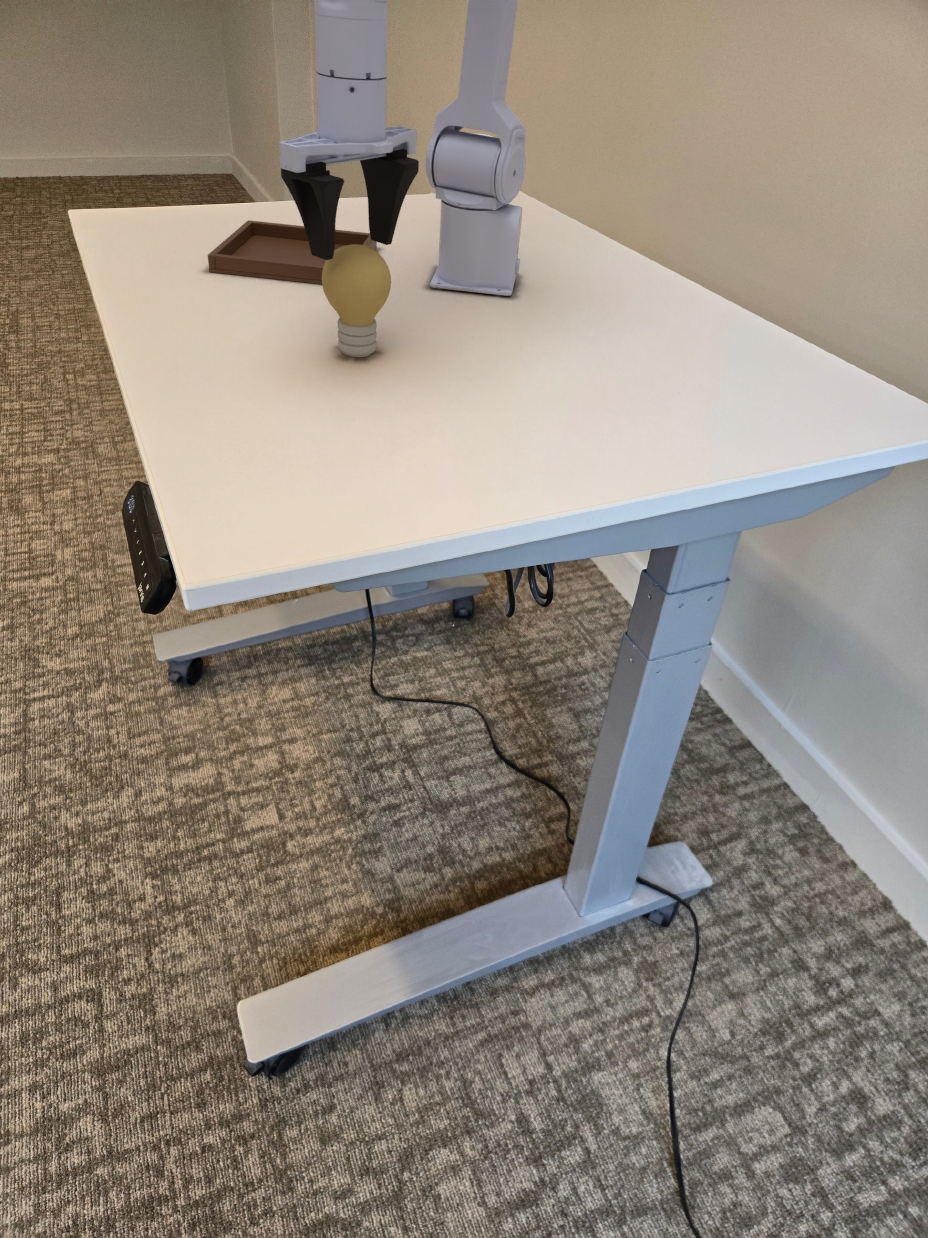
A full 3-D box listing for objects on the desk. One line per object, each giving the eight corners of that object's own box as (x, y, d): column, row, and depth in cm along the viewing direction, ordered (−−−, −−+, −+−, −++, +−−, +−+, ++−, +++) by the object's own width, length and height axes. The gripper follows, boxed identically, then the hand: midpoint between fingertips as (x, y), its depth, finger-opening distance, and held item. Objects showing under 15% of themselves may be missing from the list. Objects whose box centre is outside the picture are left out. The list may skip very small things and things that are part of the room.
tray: (376, 249, 110) (376, 233, 109) (350, 287, 99) (350, 270, 98) (249, 235, 111) (247, 219, 110) (209, 271, 100) (207, 254, 99)
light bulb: (316, 342, 86) (312, 237, 80) (377, 336, 88) (378, 233, 82) (335, 369, 82) (332, 259, 75) (399, 361, 84) (401, 254, 78)
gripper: (321, 87, 64) (325, 275, 73) (446, 77, 73) (437, 245, 82) (257, 73, 67) (268, 255, 76) (384, 65, 77) (382, 228, 85)
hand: (352, 249), depth 79 cm, fingers open, 7 cm apart
